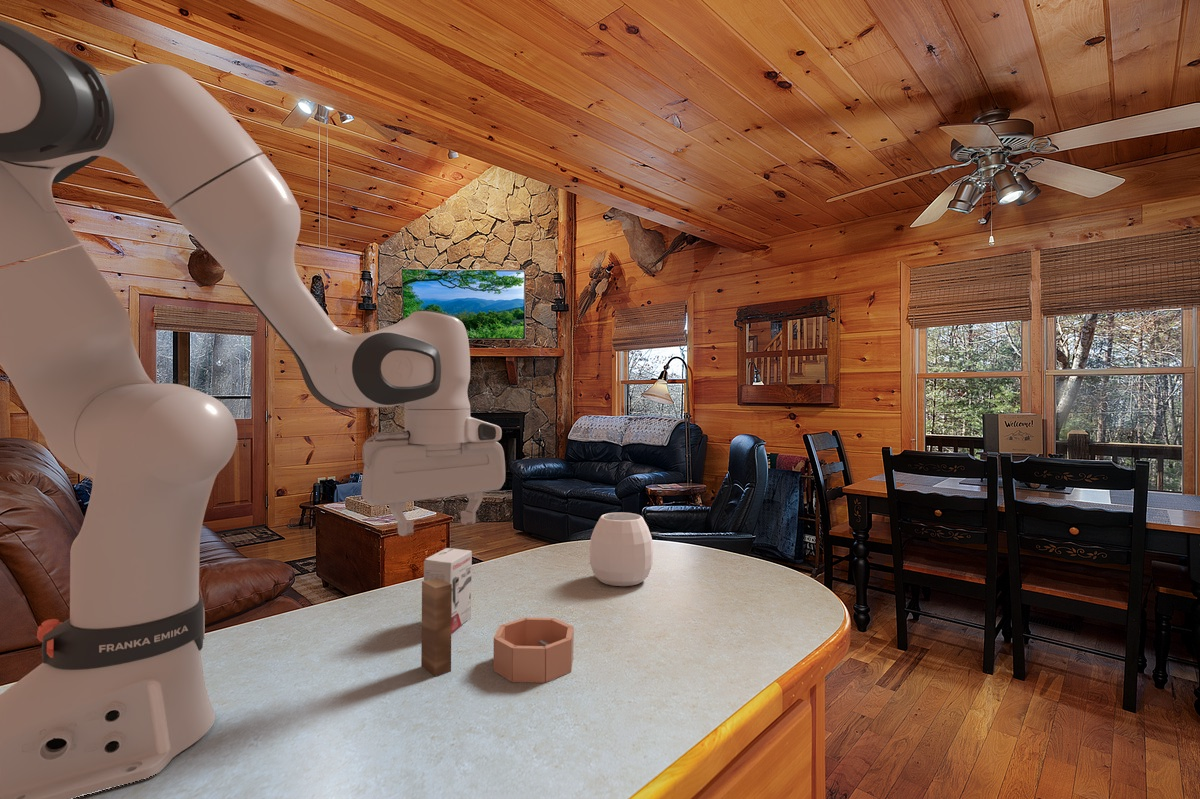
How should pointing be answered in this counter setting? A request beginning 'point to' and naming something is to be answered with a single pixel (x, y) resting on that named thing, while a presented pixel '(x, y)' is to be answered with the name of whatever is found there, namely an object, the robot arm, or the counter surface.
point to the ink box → (453, 580)
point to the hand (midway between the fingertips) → (438, 529)
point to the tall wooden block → (436, 626)
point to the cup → (621, 549)
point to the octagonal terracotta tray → (533, 649)
